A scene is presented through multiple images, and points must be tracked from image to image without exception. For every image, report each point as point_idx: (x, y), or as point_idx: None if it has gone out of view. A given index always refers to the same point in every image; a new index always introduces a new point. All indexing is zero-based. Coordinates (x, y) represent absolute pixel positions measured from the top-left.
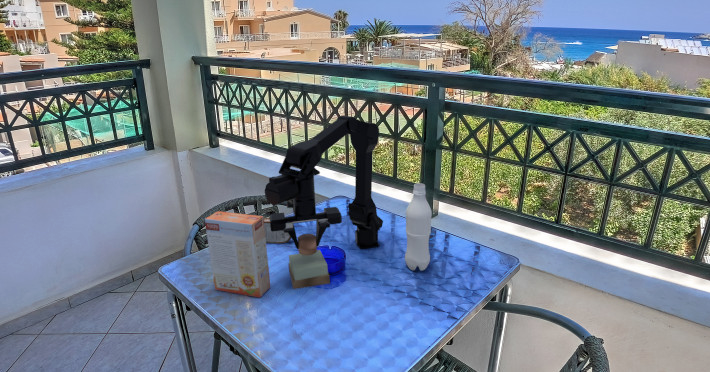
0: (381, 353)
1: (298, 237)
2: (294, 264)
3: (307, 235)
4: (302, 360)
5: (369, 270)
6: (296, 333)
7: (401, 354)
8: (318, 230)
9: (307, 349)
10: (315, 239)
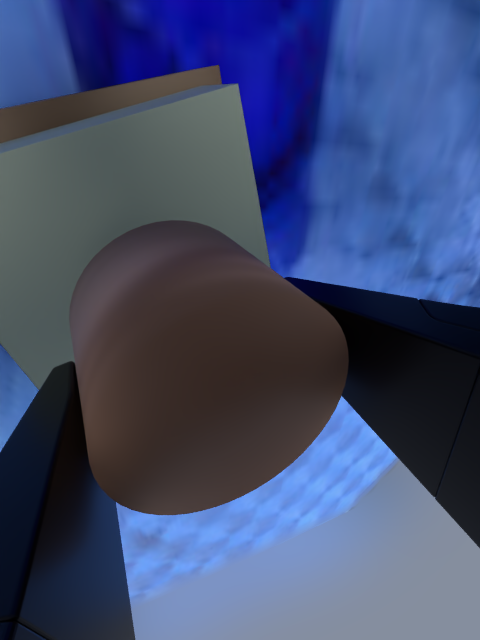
0: (323, 500)
1: (100, 449)
2: (45, 363)
3: (243, 353)
4: (177, 577)
5: (410, 162)
6: (145, 536)
7: (352, 488)
8: (465, 511)
9: (184, 555)
10: (327, 405)
